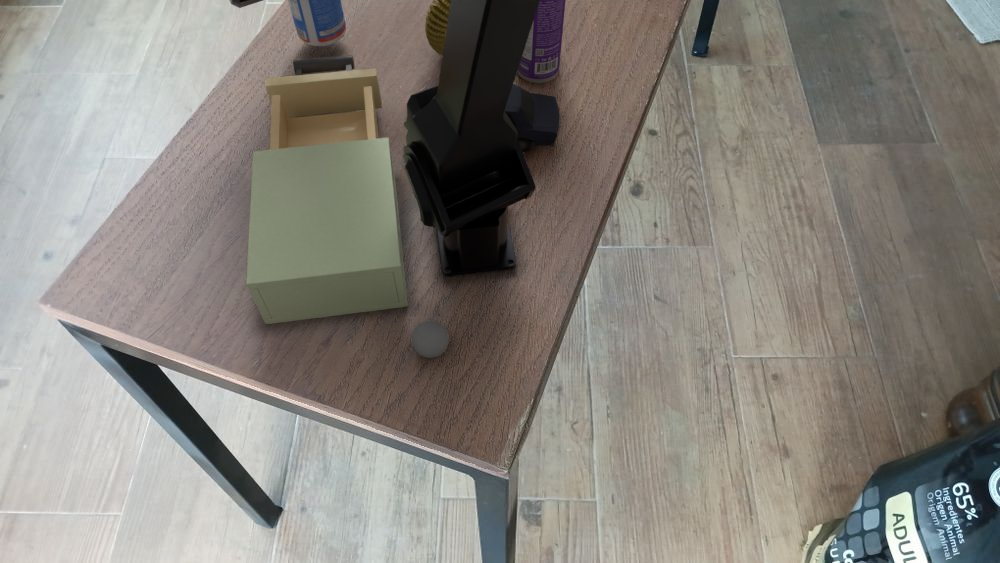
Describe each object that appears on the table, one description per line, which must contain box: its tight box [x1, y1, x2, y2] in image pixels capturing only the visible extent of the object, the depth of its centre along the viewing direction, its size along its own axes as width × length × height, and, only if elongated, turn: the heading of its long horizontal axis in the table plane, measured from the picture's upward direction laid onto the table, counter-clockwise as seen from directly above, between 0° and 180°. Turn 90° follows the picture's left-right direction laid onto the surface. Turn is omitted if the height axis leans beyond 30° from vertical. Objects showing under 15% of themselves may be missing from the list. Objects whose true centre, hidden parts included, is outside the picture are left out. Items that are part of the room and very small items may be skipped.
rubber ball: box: [410, 319, 450, 359], centre depth 58 cm, size 3×3×3 cm
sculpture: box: [424, 0, 451, 57], centre depth 77 cm, size 8×4×8 cm, turn 129°
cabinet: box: [245, 137, 409, 325], centre depth 63 cm, size 14×12×6 cm
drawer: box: [265, 54, 383, 150], centre depth 70 cm, size 18×11×4 cm, turn 9°
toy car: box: [505, 83, 561, 154], centre depth 71 cm, size 6×15×5 cm, turn 89°
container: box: [516, 0, 566, 84], centre depth 73 cm, size 5×5×15 cm
